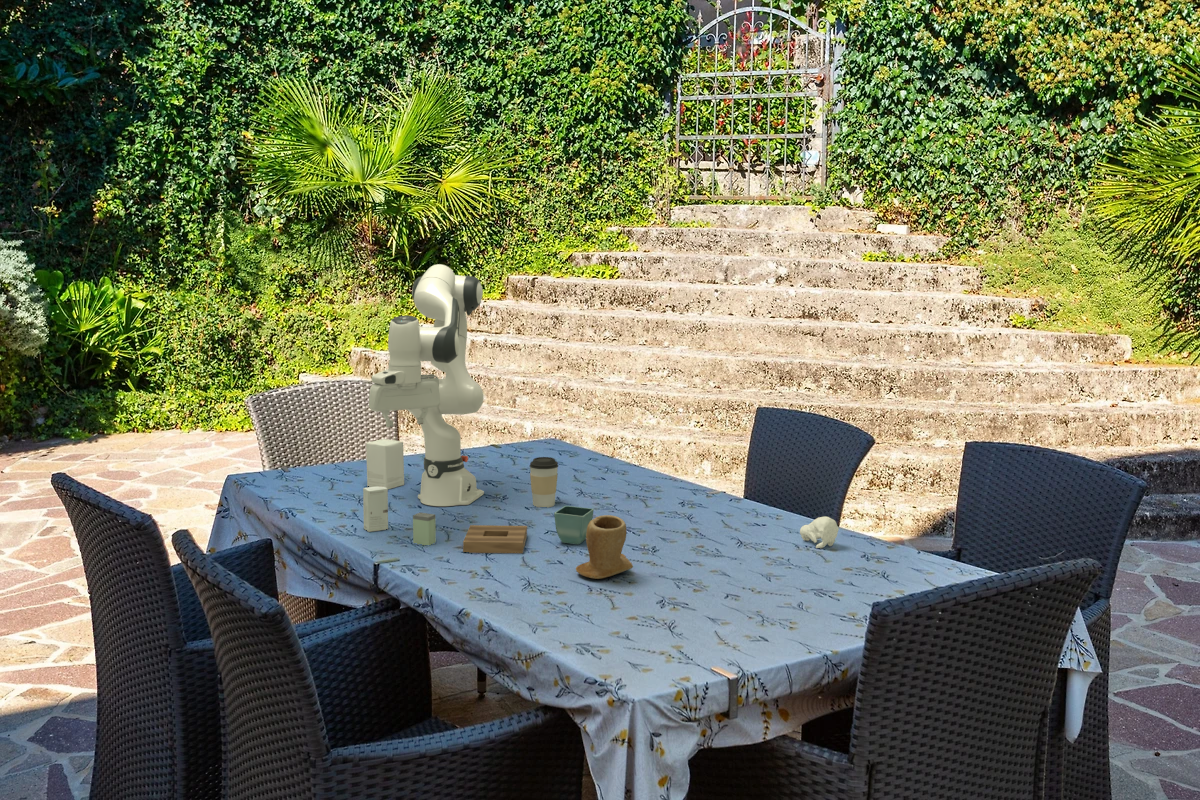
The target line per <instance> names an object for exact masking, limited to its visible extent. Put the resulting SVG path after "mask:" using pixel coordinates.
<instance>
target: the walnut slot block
mask: <svg viewBox="0 0 1200 800" xmlns="http://www.w3.org/2000/svg"><path fill="white" fill-rule="evenodd" d="M527 537H528V526H527V525H493V524H492V525H489V524H488V525H487V524H486V525H485V524H484V525H479V524H477V525H476V524H475V525H473V524H470V525H469V527H468V529H467V532H466V534H465V537H464V538H463V540H462V541H463V542H462V553H463V552H469V553H468V554H471V553H472V554H475V553H476V554H523V553H524V550H525V546H526V541H527V539H528V538H527Z"/></svg>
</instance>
